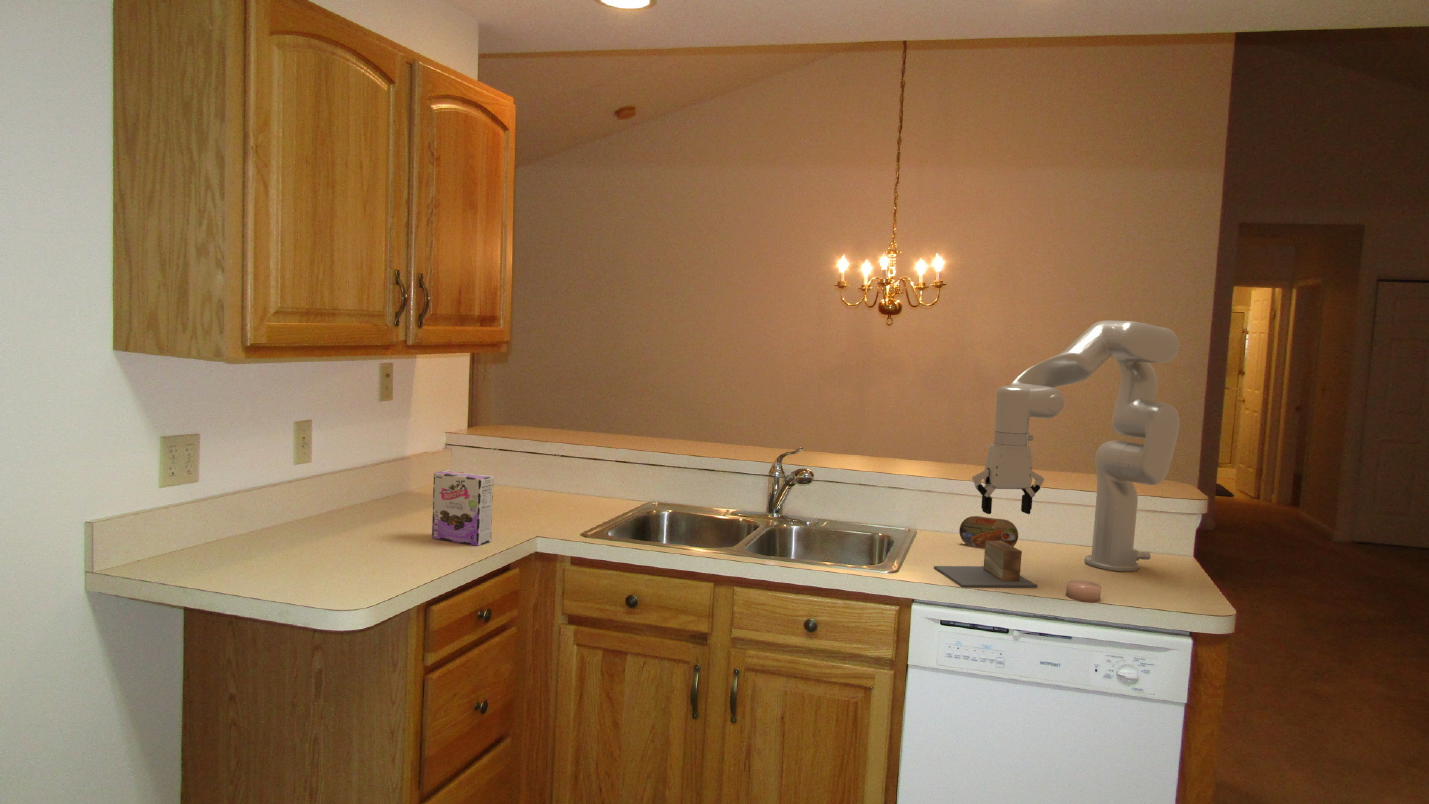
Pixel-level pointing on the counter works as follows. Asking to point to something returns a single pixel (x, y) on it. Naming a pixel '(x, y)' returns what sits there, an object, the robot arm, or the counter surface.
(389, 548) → the counter surface
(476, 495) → the candy box
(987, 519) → the tin
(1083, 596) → the pink round puck
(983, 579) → the mat
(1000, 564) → the slab
